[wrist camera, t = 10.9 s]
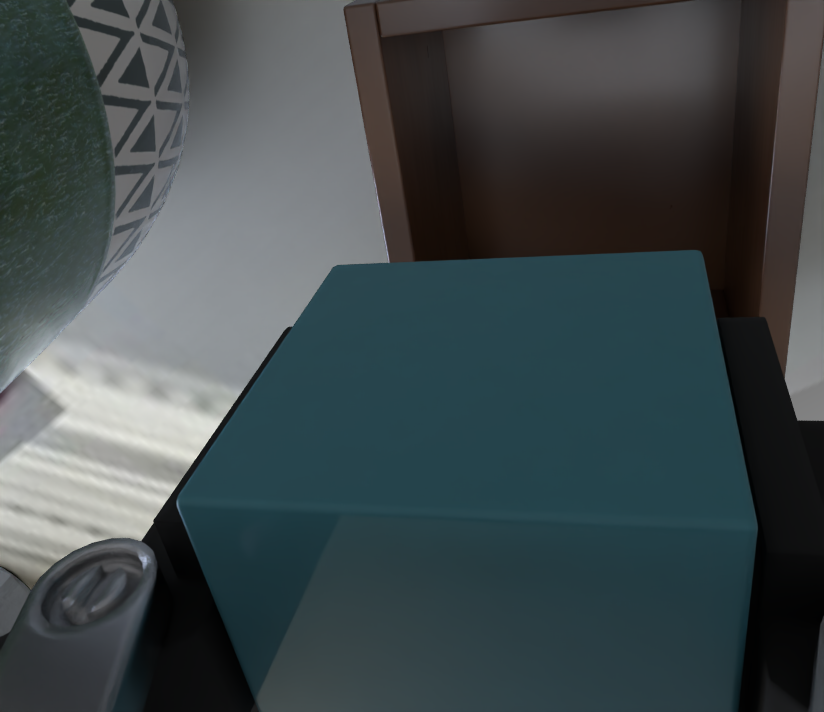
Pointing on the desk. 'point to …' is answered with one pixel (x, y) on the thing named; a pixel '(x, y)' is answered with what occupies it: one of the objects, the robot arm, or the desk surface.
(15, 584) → the coffeepot
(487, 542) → the block
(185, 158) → the desk surface
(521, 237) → the chest
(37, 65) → the planter
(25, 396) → the desk surface
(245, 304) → the desk surface
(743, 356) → the robot arm
